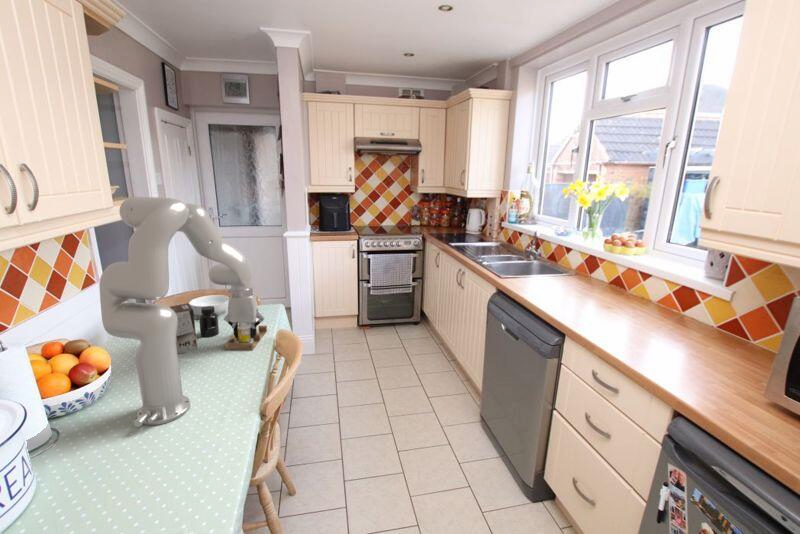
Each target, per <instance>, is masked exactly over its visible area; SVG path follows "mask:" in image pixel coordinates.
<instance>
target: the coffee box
mask: <svg viewBox="0 0 800 534" xmlns="http://www.w3.org/2000/svg"><path fill="white" fill-rule="evenodd" d="M169 308H171V309H172V310H173V311H174V312H175V313H176V315H177V318H178V326H177V335H176V344H177V353H178V354H184V353H186V352H189V351H193V350H196V349H198V343H197V335H196V333H197V332H196V325H195V314H194V313H193V309H192V307H191V306H190V305H189V302H188V303H181V304H176V305H172V306H169Z"/></svg>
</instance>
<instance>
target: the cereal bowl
mask: <svg viewBox="0 0 800 534" xmlns="http://www.w3.org/2000/svg"><path fill="white" fill-rule="evenodd" d="M228 302H229V296H227V295H224V294H222V295H221V294H212V295H209V294H208V295H204V296H203V295H202V296H200V297H196V298H192V299H191V300H190V301H189V302H188V304H189V305H190V306H191V307H192V309H193V313H194V315H196V316H200V315H201V314H202V313H201V308H202V307H205V306H213V307H214V309H215V313H216V314H217V315H218V316H219V315H220V314H222V313H224V312H226V311H228Z"/></svg>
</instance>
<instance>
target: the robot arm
mask: <svg viewBox="0 0 800 534" xmlns="http://www.w3.org/2000/svg"><path fill="white" fill-rule="evenodd" d="M118 211H119V216H120V219H121V220H122V221H123V223H124V224H126V226H128V227H131V228H133V229H135V231H134V232H132V235H131V236H130V239H129V241H128V261H118V262H117V261H116V262H112V263H111V264H110V265H108V266H106V267H105V269H104V270H103V272H102V274H101V275H100V278H99V299H100V300H99V302H100V313H101V323H102V326H103V328H104V330H105V332H106V333H107V334H109V335H110V336H112V337H115V338H121V339H123V338H124V339H130V340H132V339H133V340H135V341H140V345H139V347H138V349H137V351H136V352H135V353H136V354H135V365H136V371H137V377H138V383H139V389H140V398H141V401H142V402H141V403H142V406H141V407H140V408H139V410H138V411H137V414H136V417H137V418H136V419H135V420H134V422H133V425H134V426H135V427H137V428H138V427H141V426H142V425H148V426H155V425H162V424H166V423H170V422H172V421H174V420H176V419H179V418H180V417H181V416H183V415H184V414H186V412H187V411H189V409H190V407H191V401H190V398H189V397H188V396H185V395H183V387H182V386H183V385H182V378H181V372H180V371H181V369H180V364H179V361H180V360H179V355H178V354H179V353H178V350H177V344H176V335H177V326H178V318H177V315H176V313H175V312H174V311H173V310H172V309H171V308H170V306H166V305H163V304H157V303H156V304H155V303H147V302H143V303H142V302H137V300H142V301H143V300H144V301H156V300H162V299H163V298H165V297H166V295H167V294H168V292H169V288H170V271H169V270H170V269H169V265H170V264H169V246H170V243H171V241H172V238H173V237H174V235H175V234H176V233H177V232H181V233H183V234H184V235H185V237H186V239H187V240H188V241H189V242H190V244H191V245H192V247H193V249H194V250H195V252H196V253H198V254H197V255H200V256H202V257H204V258H206V259H208V260H211V261H214V262H216V264H215V265H214V266H212V267H211V268H210V270H209V273H208V276H209V277H208V278H209V280H210V282H212V283H213V284H215V285H219V286H230V288H227V293H229V294H230V296H228V297H229V302H228V309H227V314H226V315H225V316H224V317H223V320H224V321H225V322H226V323H228V325H229V326H230V327H231V328H232V329H233V331H232V332H233V335H235V338H238V330H237V326H238V325H239V323H250V325H251V327H252V328H251V338H252V339H253V338H254V337H255V336H256V334H257V330H256V327H257V326H260V324H261V323H262V322H264V320H265V317H264V316H263V315H262V313H260V312H259V306H258V301H257V297H256V294H254V288H253V287H254V285H253V280H254V270H253V267H252V262H251V260H249V259H248V258H247V257H246V255H245V254H244V253H243V252H242V251H240V250H239V249H237V248H236V246H233V245H232V244H231V243H229V242H228V241H226V240H225V239H223V238H222V236H221V235H220V233H219V231H218V229H217V226H216V225H215V223H214V222H213V221H212V219H211V217H210V215H209V213H208V211H206V210H205V208H204V207H203V206H201V205H199V204H195V203H185V202H184V201H182V200H180V199H177V198H171V197H161V196H160V197H158V196H157V197H155V196H154V197H153V196H152V197H151V196H131V197H127V198H126V199H125V200H123V201H122V203H121V204H120V206H119V210H118ZM257 318H258V321H257V322H256V319H257Z"/></svg>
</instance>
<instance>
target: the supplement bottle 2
mask: <svg viewBox="0 0 800 534" xmlns="http://www.w3.org/2000/svg"><path fill="white" fill-rule="evenodd" d="M251 328H252V327H251V325H250V323H238V326H237V330H238V342H239V343H252V342H253V339H252V338H251Z"/></svg>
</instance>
